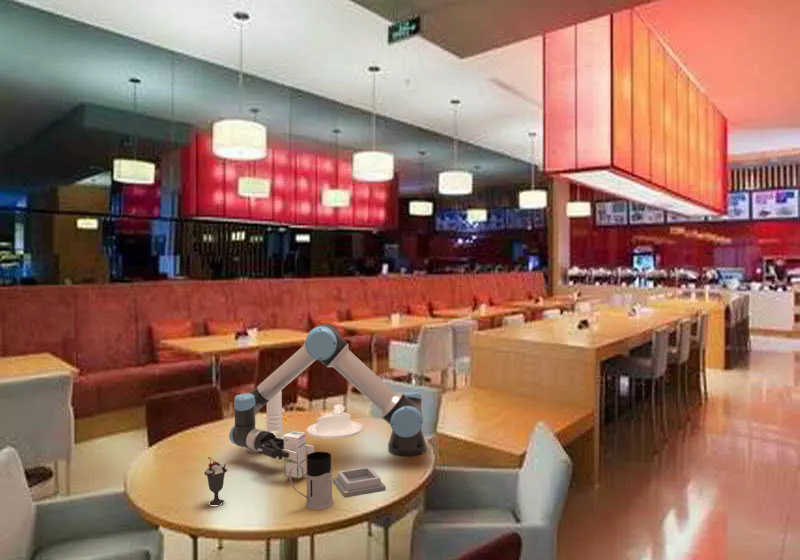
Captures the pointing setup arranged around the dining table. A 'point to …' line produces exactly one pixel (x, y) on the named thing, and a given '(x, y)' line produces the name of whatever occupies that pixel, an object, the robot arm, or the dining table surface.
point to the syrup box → (297, 444)
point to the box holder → (358, 482)
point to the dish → (335, 425)
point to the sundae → (215, 480)
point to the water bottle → (274, 413)
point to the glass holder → (317, 480)
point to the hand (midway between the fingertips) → (304, 453)
